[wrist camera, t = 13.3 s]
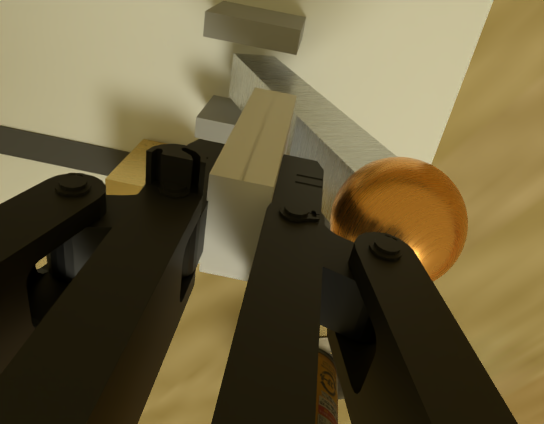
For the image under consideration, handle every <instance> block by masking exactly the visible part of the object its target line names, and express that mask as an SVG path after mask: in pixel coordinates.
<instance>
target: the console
mask: <svg viewBox="0 0 544 424" xmlns="http://www.w3.org/2000/svg"><path fill="white" fill-rule="evenodd" d="M492 3H493V0H0V204H1V203H3V202H5V201H7V200H9V199H11V198H12V197H14V196H16V195H18V194H20V193H22V192H24V191H26V190H28V189H30V188H31V187H33V186H35V185H37V184H39V183H41V182H43V181H45V180H47V179H49V178H51V177H54V176H57V175H62V174H68V173H84V174H87V175H91V176H95V177H97V178H99V179H100V180H102V181H103V182H104V184H105V178H106V177H107V176H108V175H109V174H110V173H111V172H112V171H113V170H114V169H115V168H116V167H117V166H118V165H119V164H120V163H121V162H122V161H123V160H124V159H125V158H126V156H127V155H128V154H129V153H130V152H131V151H132V150H133V149H134V148H135V147H136V146H137V145H138V144H139V143H140V142H141V141H142V140H143V139H147V140H152V141H157V142H162V143H167V144H181V145H186V146H187V145H188V144H189V143H192V142H194V141H196V140H198V139H204V140H209V141H214V142H219V143H224V144H225V143H226V141H227V139H228V138H229V136H230V134H231V132H232V130H233V128H234V126H235V124H236V122H237V121H238V119H239V117H240V115H241V113H242V112H241V110H240V109H239V108H238V107H237V105H236V104H235V103H234V102H233V100H232V99H231V98H230V97H229V88H230V80H231V71H232V63H233V55H234V53H240V54H253V55H267V56H275V57H276V58H277V59H278V60H280V61H281V62H282V63H283V64H284V65H286V66H287V67H288V68H289V69H291V70H292V71H293V72H294V73H295V74H297V75H298V76H299V77H300V78H302V79H303V80H304V81H305V82H306V83H308V84H309V85H310V86H311V87H313V88H314V89H315V90H316V91H317V92H319V93H320V94H321V95H322V96H324V97H325V98H326V99H327V100H328V101H330V102H331V103H332V104H333V105H335V106H336V107H337V108H338V109H339V110H341V111H342V112H343V113H344V114H346V115H347V116H348V117H349V118H351V119H352V120H353V121H354V122H355V123H357V124H358V125H359V126H360V127H362V128H363V129H364V130H365V131H366V132H368V133H369V134H370V135H371V136H373V137H374V138H375V139H376V140H377V141H379V142H380V143H381V144H382V145H384V146H385V147H386V148H387V149H388V150H390V151H391V152H392V153H393V154H395V155H396V156H397V157H409V158H414V159H418V160H421V161H424V162H426V163H429V164H431V163H432V161H433V158H434V156H435V153H436V150H437V148H438V145H439V142H440V140H441V137H442V134H443V132H444V129H445V127H446V124H447V121H448V119H449V116H450V113H451V111H452V108H453V105H454V103H455V100H456V98H457V95H458V92H459V90H460V87H461V84H462V82H463V79H464V76H465V74H466V71H467V69H468V66H469V63H470V61H471V58H472V55H473V53H474V50H475V47H476V45H477V42H478V40H479V37H480V34H481V32H482V29H483V26H484V24H485V21H486V18H487V16H488V13H489V11H490V8H491V5H492ZM323 216H324V215H323ZM324 219H325V226H326V227H327V228H328V229H329V230H330V223H329V221H328V220H327V219H326V218H325V216H324ZM200 259H201V257H200ZM198 263H200V260H199V262H198Z"/></svg>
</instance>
